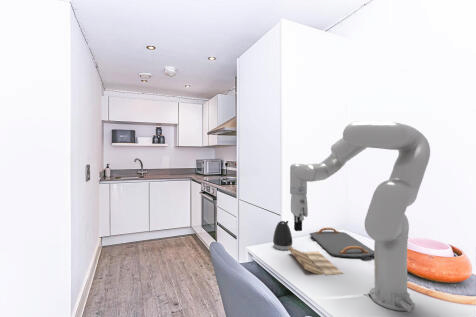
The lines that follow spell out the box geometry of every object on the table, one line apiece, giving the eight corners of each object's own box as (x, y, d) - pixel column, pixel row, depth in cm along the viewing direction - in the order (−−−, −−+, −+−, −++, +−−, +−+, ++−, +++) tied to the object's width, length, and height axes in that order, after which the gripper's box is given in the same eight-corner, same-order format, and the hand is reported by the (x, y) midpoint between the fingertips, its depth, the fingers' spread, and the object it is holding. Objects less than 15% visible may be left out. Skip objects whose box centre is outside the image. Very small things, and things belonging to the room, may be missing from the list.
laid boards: (344, 276, 99) (344, 273, 99) (325, 278, 98) (325, 275, 98) (318, 253, 123) (318, 251, 123) (302, 254, 122) (302, 252, 122)
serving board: (381, 261, 114) (381, 248, 114) (333, 263, 113) (333, 249, 113) (343, 235, 152) (342, 225, 152) (306, 236, 152) (306, 226, 152)
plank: (322, 276, 99) (323, 273, 99) (305, 269, 98) (306, 266, 98) (302, 254, 121) (303, 252, 121) (288, 248, 120) (289, 246, 120)
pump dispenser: (296, 249, 129) (296, 220, 129) (285, 254, 122) (285, 224, 122) (280, 244, 136) (279, 217, 136) (269, 249, 129) (269, 221, 128)
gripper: (313, 193, 104) (312, 235, 104) (300, 188, 118) (299, 225, 119) (296, 193, 103) (295, 236, 103) (285, 188, 118) (285, 225, 118)
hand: (298, 230), depth 111 cm, fingers closed
